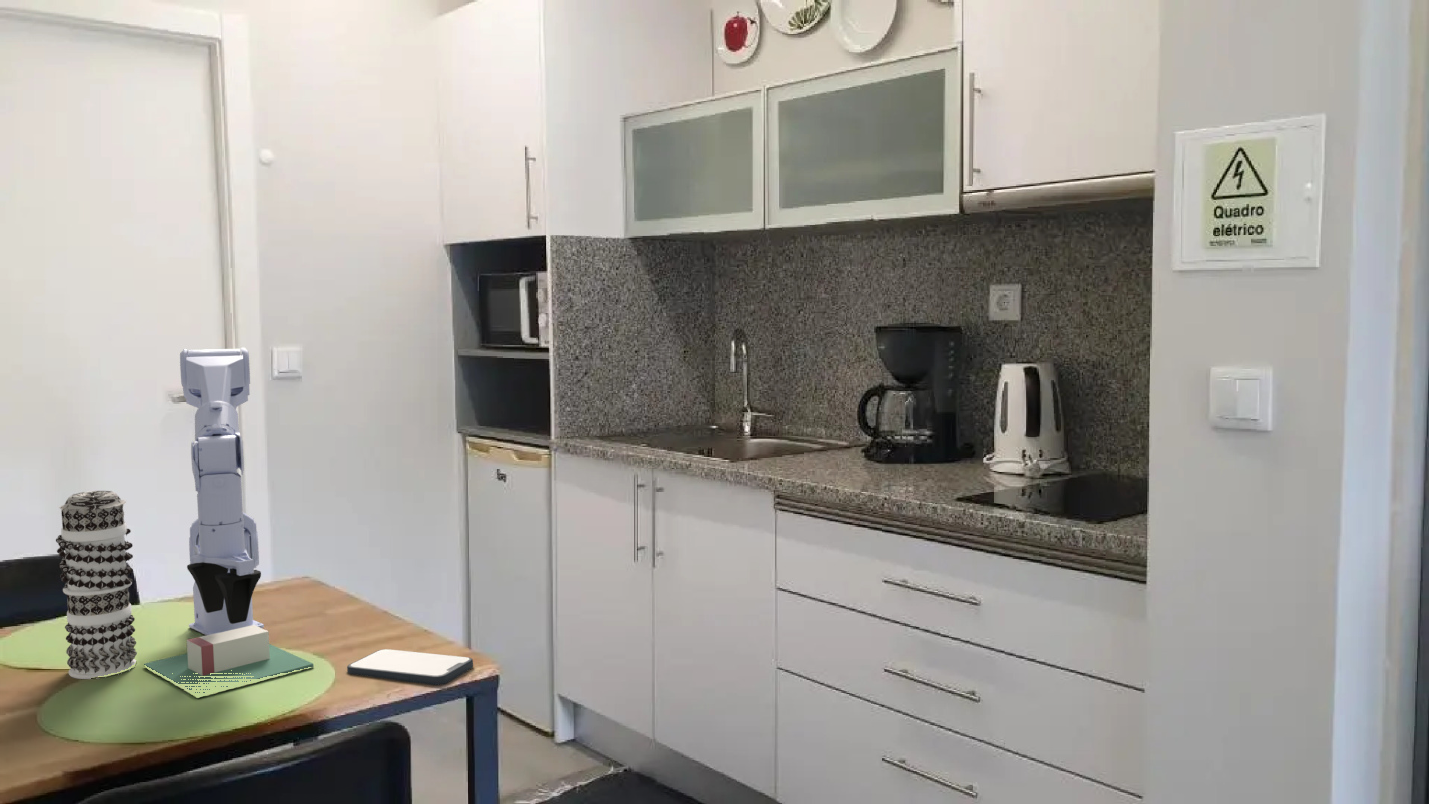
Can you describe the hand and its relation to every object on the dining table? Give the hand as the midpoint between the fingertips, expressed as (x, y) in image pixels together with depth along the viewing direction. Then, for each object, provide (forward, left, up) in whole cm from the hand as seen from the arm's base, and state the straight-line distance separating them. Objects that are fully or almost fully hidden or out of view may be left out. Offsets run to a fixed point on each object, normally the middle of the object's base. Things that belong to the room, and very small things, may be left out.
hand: (225, 616), depth 156 cm
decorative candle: (-13, -12, -8) cm, 19 cm away
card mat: (0, 0, -7) cm, 7 cm away
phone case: (+20, +17, -8) cm, 27 cm away
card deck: (0, 0, -7) cm, 7 cm away
